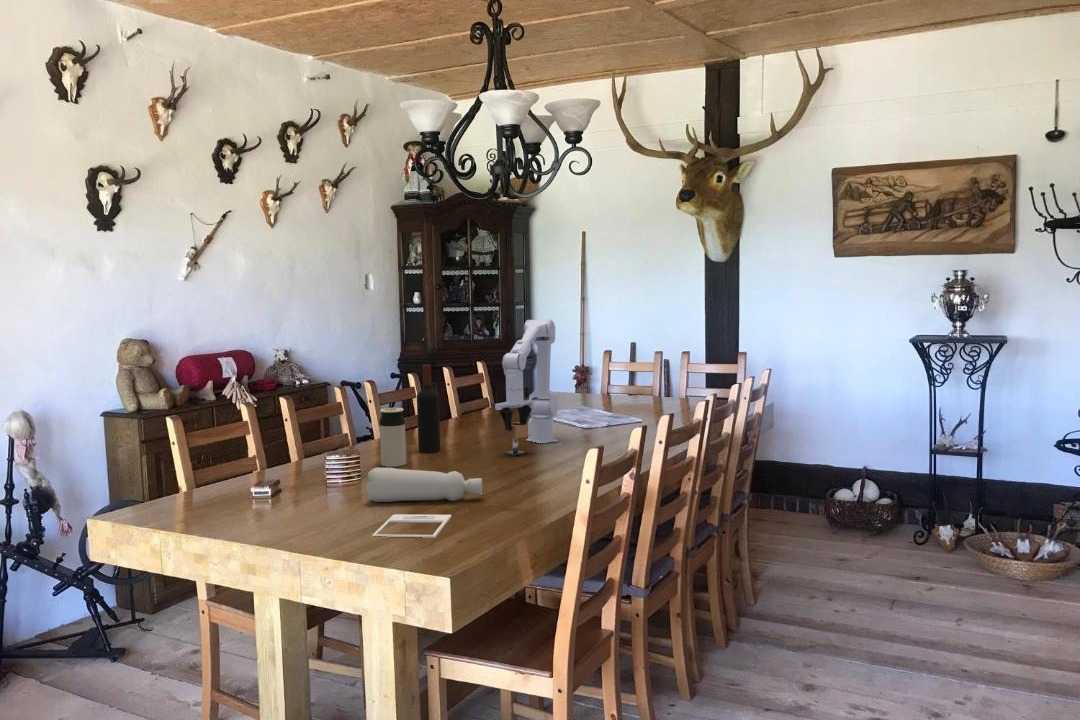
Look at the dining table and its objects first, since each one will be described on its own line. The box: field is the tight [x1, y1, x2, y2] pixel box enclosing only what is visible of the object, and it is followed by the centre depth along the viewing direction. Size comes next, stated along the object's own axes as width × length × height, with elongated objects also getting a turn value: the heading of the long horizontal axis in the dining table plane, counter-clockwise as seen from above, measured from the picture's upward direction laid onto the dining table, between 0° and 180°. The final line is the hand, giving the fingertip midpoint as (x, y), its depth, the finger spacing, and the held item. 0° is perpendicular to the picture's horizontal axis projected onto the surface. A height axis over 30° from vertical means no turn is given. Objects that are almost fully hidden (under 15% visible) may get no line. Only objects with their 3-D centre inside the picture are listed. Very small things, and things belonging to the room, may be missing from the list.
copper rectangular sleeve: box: [503, 421, 528, 439], centre depth 293 cm, size 7×5×4 cm
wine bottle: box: [416, 363, 441, 454], centre depth 302 cm, size 8×8×30 cm
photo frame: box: [371, 513, 452, 539], centre depth 208 cm, size 15×1×18 cm
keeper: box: [505, 438, 527, 457], centre depth 293 cm, size 5×5×5 cm
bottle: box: [365, 467, 483, 503], centre depth 233 cm, size 9×9×30 cm
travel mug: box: [379, 407, 407, 468], centre depth 280 cm, size 8×8×18 cm
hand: (515, 429), depth 293 cm, fingers closed on copper rectangular sleeve, 5 cm apart
